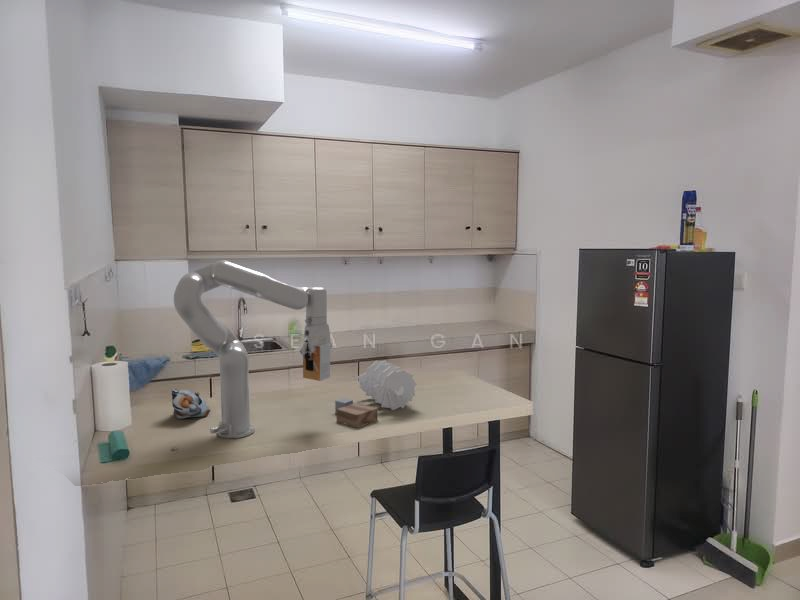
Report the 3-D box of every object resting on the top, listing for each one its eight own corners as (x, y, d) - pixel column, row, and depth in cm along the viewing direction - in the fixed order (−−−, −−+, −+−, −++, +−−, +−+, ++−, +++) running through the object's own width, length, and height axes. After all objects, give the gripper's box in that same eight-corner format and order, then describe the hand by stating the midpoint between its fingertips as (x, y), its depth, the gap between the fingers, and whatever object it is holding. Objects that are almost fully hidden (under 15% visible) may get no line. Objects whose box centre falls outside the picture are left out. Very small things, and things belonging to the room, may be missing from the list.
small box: (302, 378, 201) (302, 343, 199) (313, 374, 206) (313, 341, 205) (320, 381, 197) (320, 346, 195) (330, 377, 202) (330, 343, 201)
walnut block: (356, 428, 200) (356, 415, 199) (336, 421, 207) (336, 409, 206) (377, 420, 208) (377, 408, 208) (357, 414, 215) (357, 402, 215)
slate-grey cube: (344, 415, 214) (344, 403, 213) (335, 413, 217) (335, 400, 216) (353, 412, 218) (353, 400, 217) (343, 409, 221) (343, 397, 220)
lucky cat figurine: (217, 413, 214) (210, 388, 206) (191, 433, 206) (182, 407, 198) (193, 397, 222) (185, 372, 213) (167, 415, 214) (158, 390, 206)
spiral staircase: (384, 404, 241) (409, 418, 219) (350, 391, 234) (373, 404, 211) (399, 365, 244) (426, 375, 221) (366, 352, 236) (390, 360, 214)
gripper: (306, 324, 190) (307, 374, 192) (340, 319, 204) (339, 365, 206) (291, 322, 194) (292, 371, 196) (325, 317, 208) (325, 363, 210)
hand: (316, 368), depth 201 cm, fingers closed on small box, 6 cm apart
